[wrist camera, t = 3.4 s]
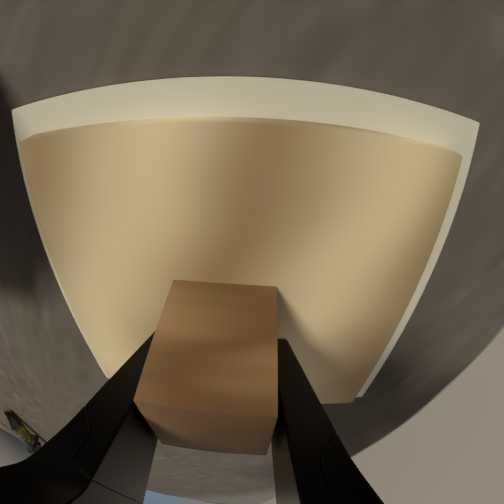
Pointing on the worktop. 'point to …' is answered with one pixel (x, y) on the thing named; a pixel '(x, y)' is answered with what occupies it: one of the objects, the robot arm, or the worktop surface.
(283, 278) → the lid
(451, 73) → the worktop surface
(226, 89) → the mat
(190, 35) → the worktop surface
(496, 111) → the worktop surface
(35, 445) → the knife
